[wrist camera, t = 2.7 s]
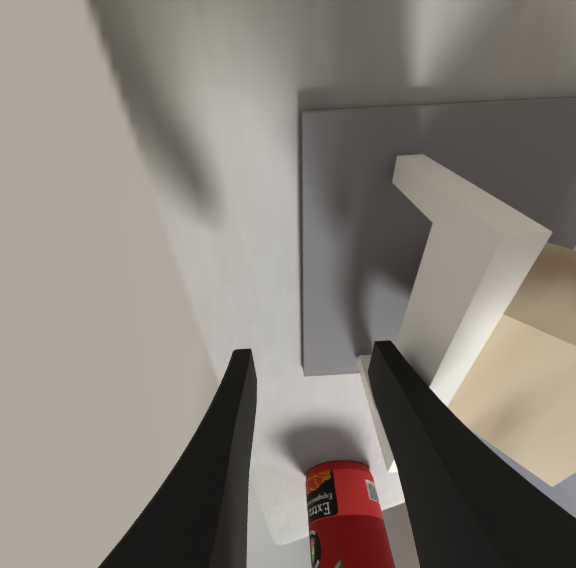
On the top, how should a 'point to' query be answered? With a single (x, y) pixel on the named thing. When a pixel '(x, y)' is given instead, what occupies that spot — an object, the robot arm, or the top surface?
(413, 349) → the gate
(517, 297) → the birch cube
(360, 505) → the canned food
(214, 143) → the top surface
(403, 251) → the rubber mat
